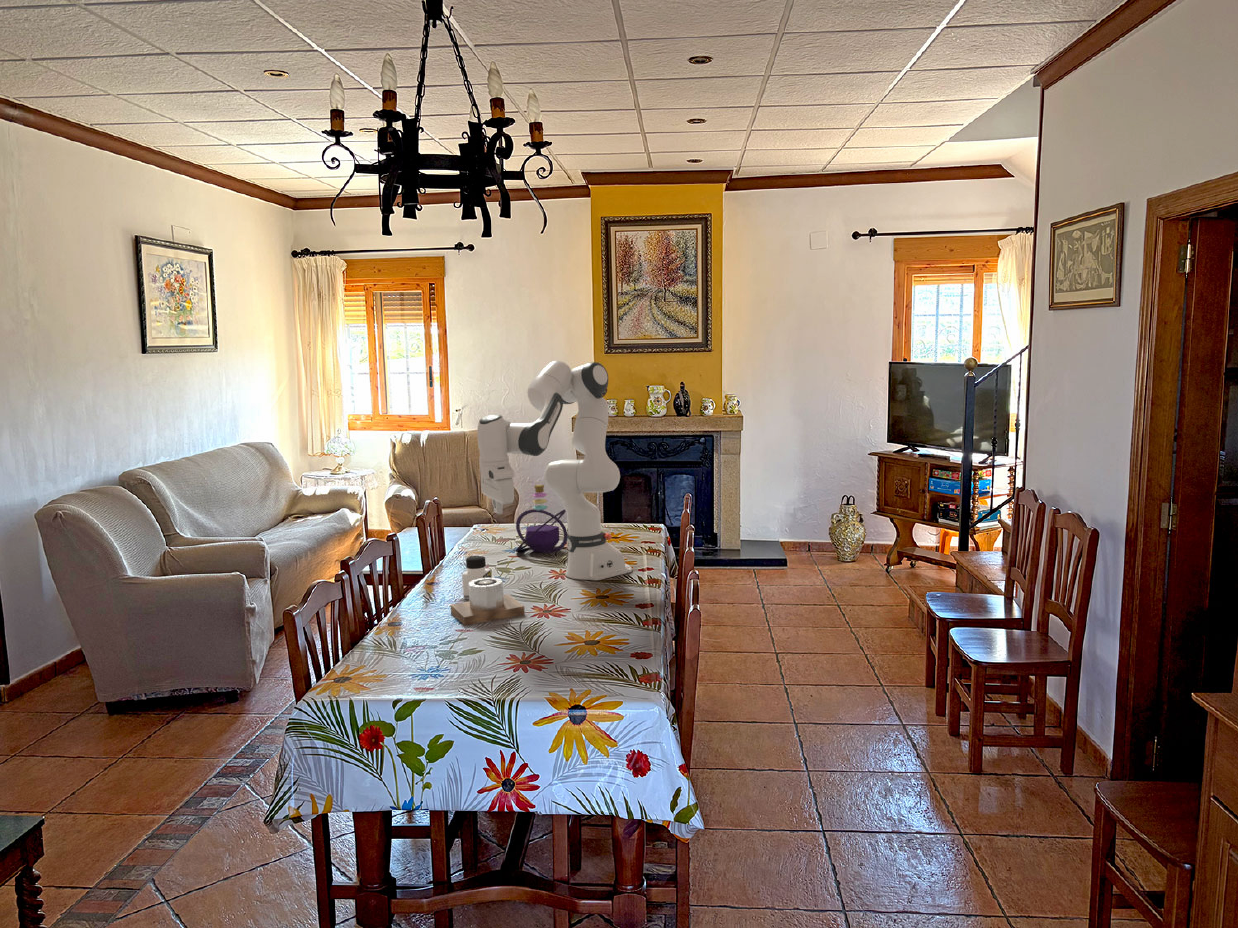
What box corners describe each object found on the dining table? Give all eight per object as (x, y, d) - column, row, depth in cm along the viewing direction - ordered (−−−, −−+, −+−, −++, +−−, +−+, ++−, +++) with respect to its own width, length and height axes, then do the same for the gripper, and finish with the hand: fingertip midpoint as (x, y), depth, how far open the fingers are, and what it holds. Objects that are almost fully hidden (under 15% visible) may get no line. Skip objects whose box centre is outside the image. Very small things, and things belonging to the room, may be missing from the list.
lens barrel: (497, 598, 266) (495, 575, 264) (507, 606, 257) (506, 583, 256) (466, 603, 261) (464, 581, 260) (476, 612, 253) (474, 588, 252)
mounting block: (508, 602, 270) (508, 594, 269) (524, 614, 257) (524, 606, 257) (451, 612, 262) (450, 604, 261) (464, 625, 249) (464, 617, 249)
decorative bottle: (527, 542, 346) (524, 479, 343) (578, 543, 341) (575, 480, 337) (505, 557, 325) (501, 490, 321) (559, 558, 319) (555, 490, 316)
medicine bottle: (484, 596, 277) (482, 559, 275) (463, 596, 278) (460, 559, 276) (492, 589, 284) (490, 553, 282) (471, 589, 285) (468, 553, 283)
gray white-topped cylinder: (492, 598, 262) (491, 578, 261) (497, 602, 258) (496, 582, 257) (476, 601, 260) (474, 581, 259) (481, 605, 256) (480, 585, 255)
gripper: (474, 465, 276) (477, 508, 278) (496, 475, 258) (500, 521, 260) (493, 462, 278) (496, 505, 281) (516, 472, 260) (520, 517, 263)
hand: (498, 513), depth 270 cm, fingers closed
